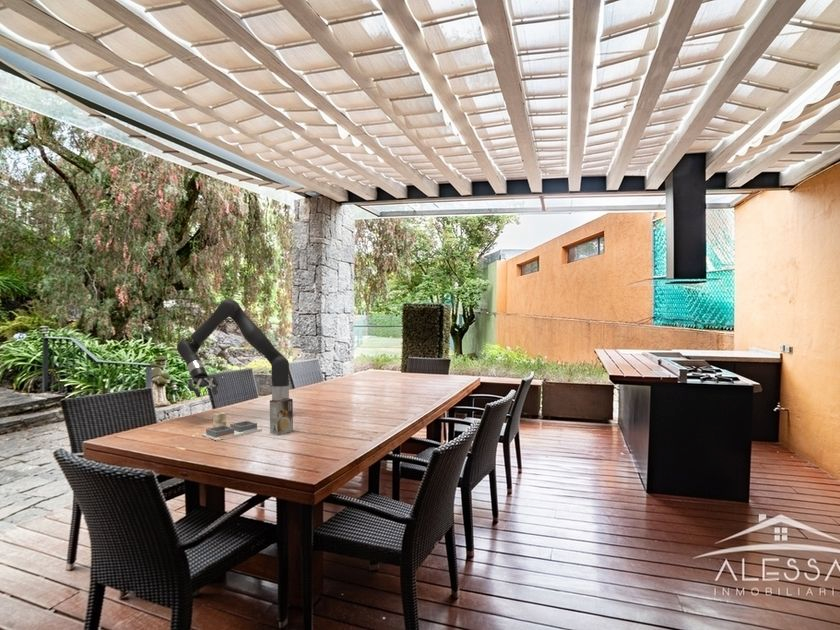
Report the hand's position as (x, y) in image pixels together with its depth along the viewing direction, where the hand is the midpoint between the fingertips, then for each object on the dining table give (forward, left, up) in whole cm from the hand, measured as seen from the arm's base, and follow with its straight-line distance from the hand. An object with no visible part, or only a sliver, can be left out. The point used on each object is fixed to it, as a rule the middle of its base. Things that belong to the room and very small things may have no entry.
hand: (207, 395), depth 233 cm
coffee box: (-16, +41, -16) cm, 47 cm away
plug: (0, +12, -16) cm, 20 cm away
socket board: (0, +24, -16) cm, 29 cm away
